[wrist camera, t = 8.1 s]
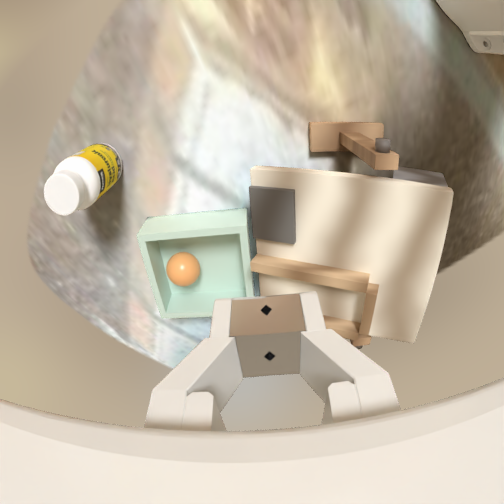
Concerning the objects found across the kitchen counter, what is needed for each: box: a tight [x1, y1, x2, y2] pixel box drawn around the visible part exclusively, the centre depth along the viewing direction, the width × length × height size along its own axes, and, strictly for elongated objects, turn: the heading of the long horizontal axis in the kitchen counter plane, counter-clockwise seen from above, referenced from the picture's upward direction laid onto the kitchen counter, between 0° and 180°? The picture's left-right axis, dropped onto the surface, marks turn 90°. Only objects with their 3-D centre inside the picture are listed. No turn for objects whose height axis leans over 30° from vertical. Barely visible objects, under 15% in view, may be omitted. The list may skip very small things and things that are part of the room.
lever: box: [249, 166, 454, 343], centre depth 30 cm, size 17×16×9 cm
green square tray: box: [136, 208, 255, 318], centre depth 37 cm, size 12×12×4 cm
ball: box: [166, 252, 200, 286], centre depth 36 cm, size 4×4×4 cm
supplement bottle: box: [44, 143, 122, 215], centre depth 28 cm, size 5×5×10 cm
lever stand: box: [309, 122, 399, 349], centre depth 31 cm, size 8×22×11 cm, turn 5°
